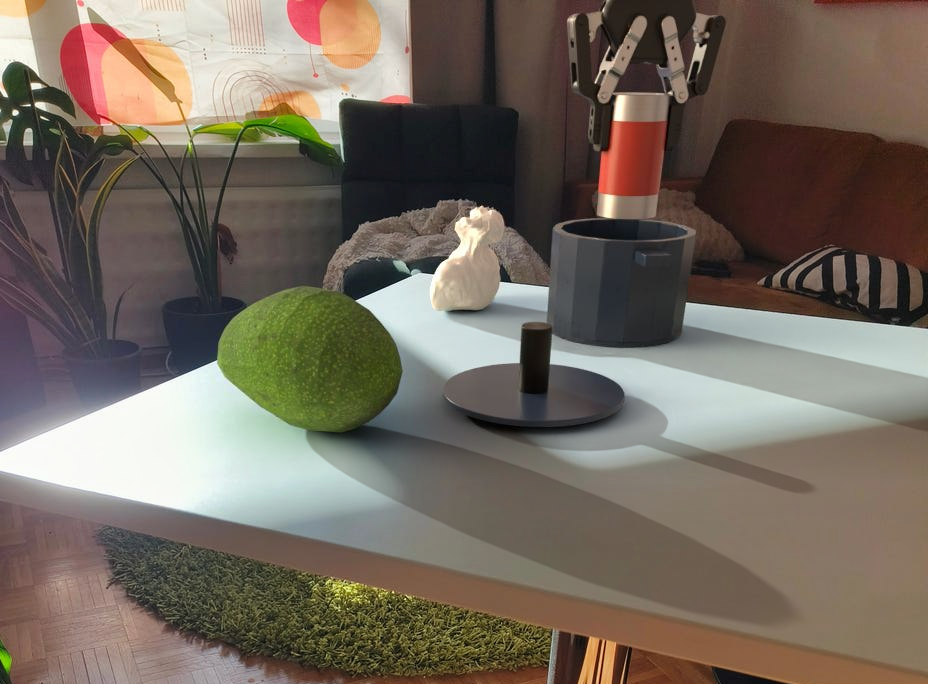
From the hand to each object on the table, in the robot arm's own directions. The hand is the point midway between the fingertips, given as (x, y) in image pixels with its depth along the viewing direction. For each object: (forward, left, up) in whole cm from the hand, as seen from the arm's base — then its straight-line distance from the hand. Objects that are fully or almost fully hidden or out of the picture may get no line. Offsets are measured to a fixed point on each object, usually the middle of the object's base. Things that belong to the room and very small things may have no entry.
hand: (633, 149), depth 83 cm
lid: (+14, +21, -16) cm, 30 cm away
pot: (0, 0, -16) cm, 16 cm away
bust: (+13, -11, -16) cm, 24 cm away
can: (0, 0, -6) cm, 6 cm away
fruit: (+32, +23, -16) cm, 43 cm away
